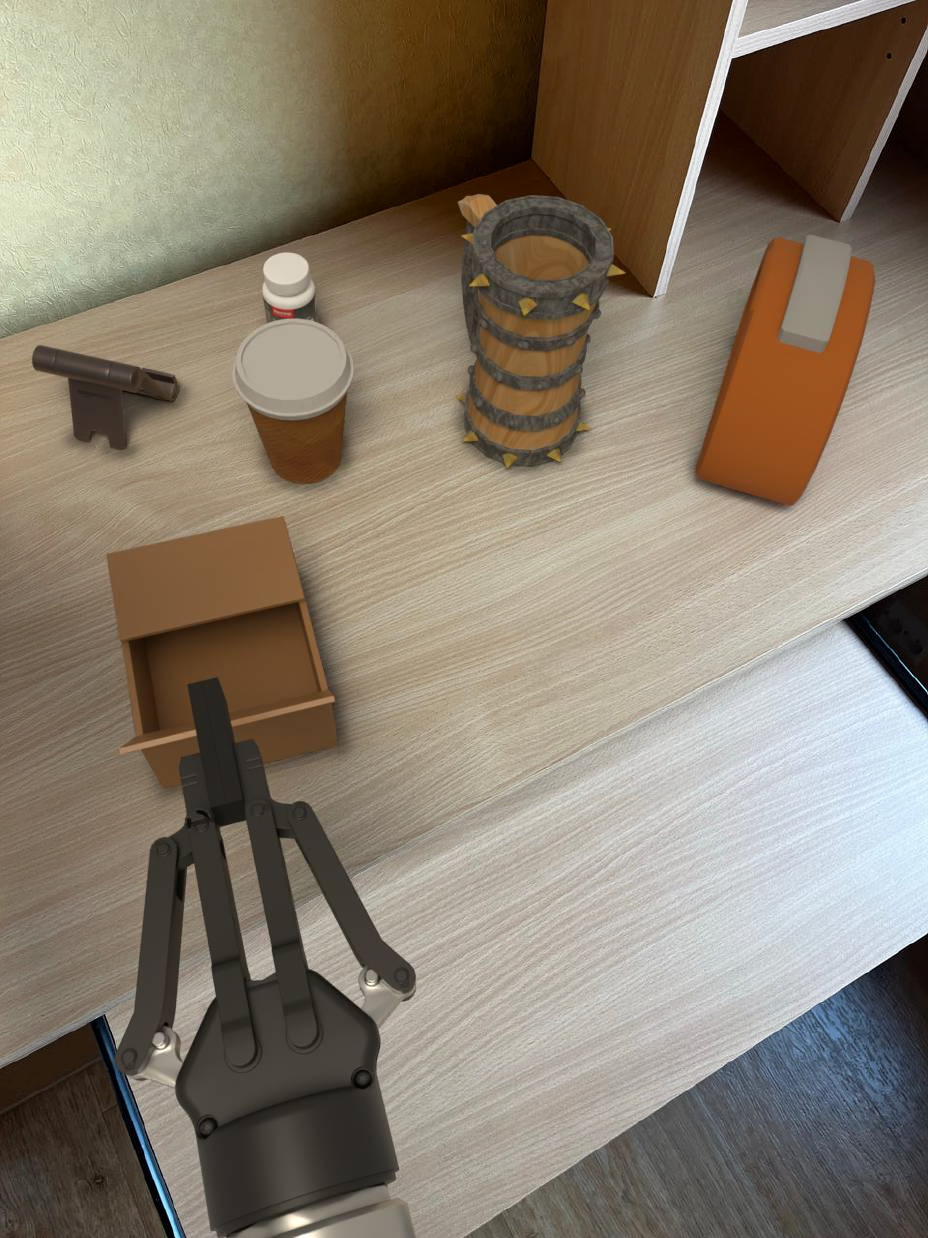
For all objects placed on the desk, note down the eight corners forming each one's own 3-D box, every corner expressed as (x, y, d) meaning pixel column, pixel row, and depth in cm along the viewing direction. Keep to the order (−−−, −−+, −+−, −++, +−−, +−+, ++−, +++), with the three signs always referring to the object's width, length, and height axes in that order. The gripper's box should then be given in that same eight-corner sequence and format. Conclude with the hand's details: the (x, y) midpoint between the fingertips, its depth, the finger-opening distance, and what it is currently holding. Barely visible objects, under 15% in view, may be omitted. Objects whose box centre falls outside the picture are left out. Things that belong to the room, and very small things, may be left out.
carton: (296, 581, 86) (283, 514, 78) (338, 745, 79) (329, 690, 71) (135, 617, 84) (105, 552, 76) (163, 789, 77) (133, 738, 69)
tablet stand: (182, 390, 96) (162, 322, 89) (148, 456, 92) (125, 390, 85) (91, 370, 97) (64, 300, 90) (53, 434, 93) (22, 367, 86)
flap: (334, 695, 64) (335, 701, 64) (328, 689, 71) (329, 694, 71) (117, 748, 62) (119, 755, 62) (134, 736, 69) (136, 742, 69)
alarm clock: (741, 315, 103) (793, 167, 89) (832, 340, 102) (900, 193, 88) (686, 497, 92) (735, 360, 78) (787, 527, 91) (857, 394, 76)
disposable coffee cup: (292, 517, 89) (275, 424, 79) (229, 447, 93) (205, 349, 82) (382, 463, 93) (377, 366, 82) (318, 397, 96) (306, 296, 86)
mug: (498, 499, 91) (517, 328, 74) (400, 369, 98) (396, 185, 81) (620, 441, 95) (665, 265, 78) (516, 320, 102) (536, 134, 85)
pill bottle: (275, 360, 98) (263, 291, 91) (265, 324, 100) (253, 254, 93) (325, 351, 99) (317, 281, 92) (314, 315, 101) (306, 245, 94)
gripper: (162, 1270, 43) (93, 755, 55) (466, 1168, 46) (340, 694, 57) (117, 1276, 37) (49, 691, 48) (473, 1157, 39) (330, 624, 50)
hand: (207, 693), depth 52 cm, fingers closed
